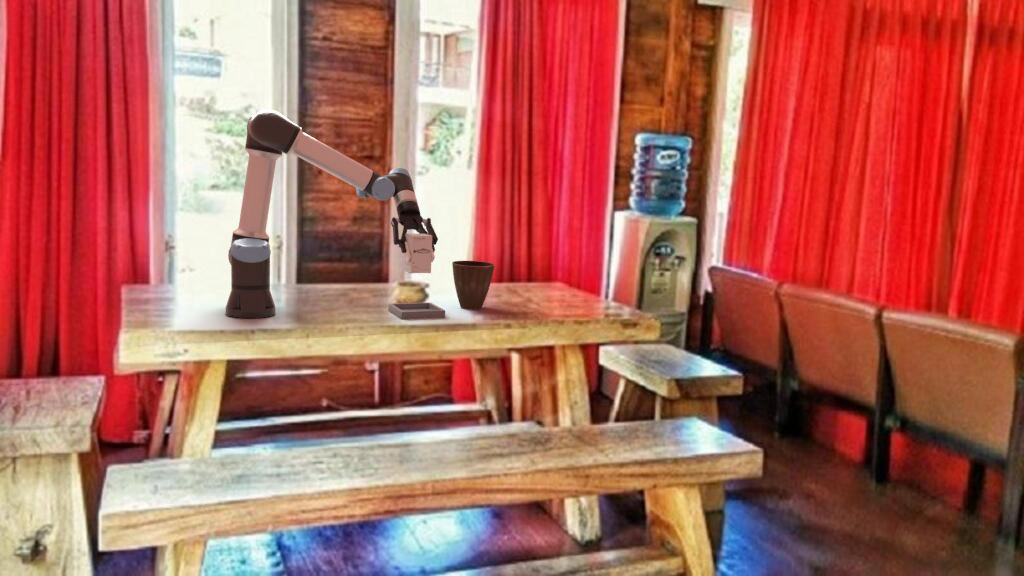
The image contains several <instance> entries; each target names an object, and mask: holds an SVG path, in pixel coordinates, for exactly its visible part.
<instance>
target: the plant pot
mask: <svg viewBox="0 0 1024 576" xmlns="http://www.w3.org/2000/svg"><path fill="white" fill-rule="evenodd" d="M451 265H452V274H453V283H454V288H455V292H456V296H457V299H458V303H459V306H460V308H461V309H464V310H470V309H472V310H473V309H477V310H481V309H482V308H483V305H484V303H485V300H486V298H487V296H488V293H489V290H490V286H491V283H492V279H493V276H494V270H495V264H494V263H492V262H488V261H487V262H486V261H480V260H479V261H478V260H455V261H452V264H451ZM472 310H471V311H472Z"/></svg>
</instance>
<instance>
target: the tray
mask: <svg viewBox="0 0 1024 576" xmlns="http://www.w3.org/2000/svg"><path fill="white" fill-rule="evenodd" d="M387 305H388V306H387V307H388V308H387V309H388V311H387V312H389V313H391V314H392V315H394V316H396V317H397V318H399V319H400V320H411V319H412V320H417V319H418V320H419V319H422V320H423V319H443V318H444V319H445V318H446V310H445V309H444V308H441V307H439V306H438V305H436V304H434V303H433V302H402V303H401V302H399V303H388V304H387Z"/></svg>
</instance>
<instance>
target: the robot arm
mask: <svg viewBox="0 0 1024 576" xmlns="http://www.w3.org/2000/svg"><path fill="white" fill-rule="evenodd" d="M302 128H303V127H301V126H299V125H297V124H296V123H294V122H293V121H291V120H290V119H289V118H287V117H286V116H284V115H283V114H282V113H280V112H278V111H276V110H273V109H262V110H260V111H257V112H255V113H254V114H252V115H251V116H250V118H249V120H248V122H247V124H246V133H247V134H246V141H245V147H244V149H245V151H246V153H247V154H248V160H247V167H246V175H245V180H244V181H245V182H244V188H243V195H242V200H241V209H240V215H239V223H238V227H237V228H236V229H235V230H233V231H232V236H231V243H230V247H229V249H228V255H227V256H228V261H229V264H230V266H231V267H230V268H231V270H230V272H231V276H230V277H231V279H230V280H231V284H230V285H231V290H230V293H229V296H228V300H227V301H226V305H225V315H226V314H227V315H226V316H228V315H229V316H228V317H231V316H233V317H232V318H237V317H239V319H261V318H268V317H271V316H272V317H273V316H274V315H276V304H275V301H274V298H273V296H272V293H271V268H270V267H271V251H272V250H271V246H270V236H269V234H268V233H267V223H268V216H269V212H270V204H271V197H272V191H273V184H274V177H275V171H276V163H277V160H278V159H280V158H281V157H282V155H283V154H285V155H291V154H292V155H294V156H296V157H297V158H300V159H301V160H304V161H305V162H307V163H309V164H311V165H313V166H315V167H316V168H318V169H320V170H322V171H324V172H326V173H328V174H330V175H332V176H334V177H335V178H337V179H339V180H341V181H343V182H345V183H346V184H348V185H351V186H352V187H354V188H355V192H356V196H357V197H358V198H361V199H371V198H372V199H375V200H378V201H381V202H382V201H387V200H389V199H391V198H393V201H394V204H395V208H396V213H397V218H396V217H392V218H391V221H390V224H391V227H392V235H393V236H392V237H393V244H394V245H395V246H398V248H400V250H401V253H402V254H404V253H405V257H406V261H407V263H409V262H410V259H411V255H410V251H409V247H408V243H407V242H404V241H405V237H406V236H405V234H408V230H413V231H414V230H415V231H416V233H418V234H428V235H431V236H432V258H431V263H433V262H434V260H435V258H436V255H435V251H436V247H435V246H436V245H437V243H438V241H439V238H438V236H437V234H436V231H435V229H434V227H433V225H432V219H431V218H430V217H427V219H426V218H423V216H422V215H421V211H420V207H419V204H418V200H417V196H416V194H415V190H414V185H413V179H412V178H411V175H410V173H409V171H408V170H407V169H406V168H404V167H396V168H395V169H391V170H390V171H389V173H388V175H386V174H385V175H381V174H379V172H375V170H374V171H373V170H372V169H371V168H368V167H367V166H365V165H363V164H361V163H360V162H358V161H356V160H354V159H352V158H351V157H348V156H347V155H345V154H343V153H341V152H339V150H336V149H333V148H332V147H331V146H329V145H327V144H325V143H323V142H321V141H320V140H318V139H316V138H315V137H312V136H311V135H309V134H307V133H306V132H304V131H303V129H302ZM399 224H400V225H401V226H402V228H403V229H402V233H401V236H400V235H399V234H400V233H399Z"/></svg>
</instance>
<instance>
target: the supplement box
mask: <svg viewBox="0 0 1024 576" xmlns="http://www.w3.org/2000/svg"><path fill="white" fill-rule="evenodd" d="M405 236H406V237H405V241H404V242H407V243H408V247H409V251H410V255H411V259H410V262H409V263H407V261H406V257H405V253H403V263H402V265H403V268H402V269H403V272H406V273H408V274H410V275H411V274H431V273H432V262H431V258H432V236H431V235H428V234H419V233H406V234H405Z"/></svg>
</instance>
